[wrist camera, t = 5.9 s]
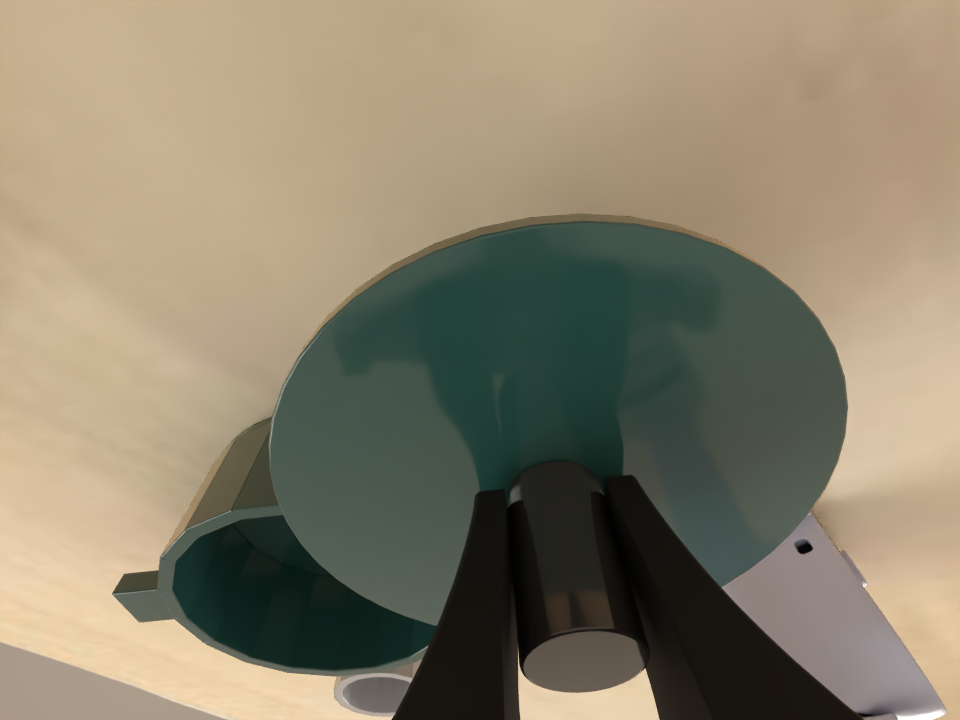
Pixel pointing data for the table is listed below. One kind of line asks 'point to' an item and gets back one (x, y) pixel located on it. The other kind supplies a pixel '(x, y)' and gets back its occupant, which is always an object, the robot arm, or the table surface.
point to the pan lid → (557, 423)
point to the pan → (264, 582)
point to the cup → (375, 690)
